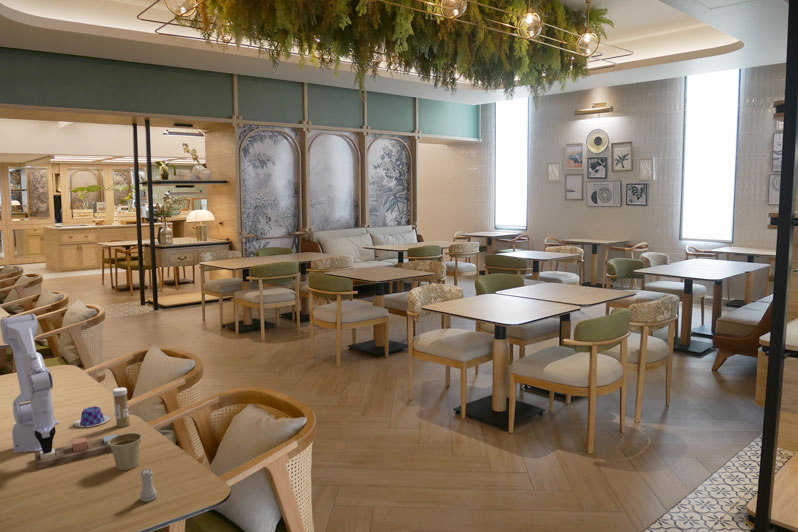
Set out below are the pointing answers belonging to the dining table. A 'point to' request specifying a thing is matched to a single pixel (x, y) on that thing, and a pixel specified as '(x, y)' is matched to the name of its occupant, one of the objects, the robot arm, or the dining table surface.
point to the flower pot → (126, 450)
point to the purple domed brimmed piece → (92, 417)
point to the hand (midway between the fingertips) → (47, 452)
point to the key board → (72, 454)
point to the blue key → (107, 439)
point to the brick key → (79, 444)
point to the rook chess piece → (147, 486)
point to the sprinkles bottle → (121, 407)
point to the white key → (47, 454)
